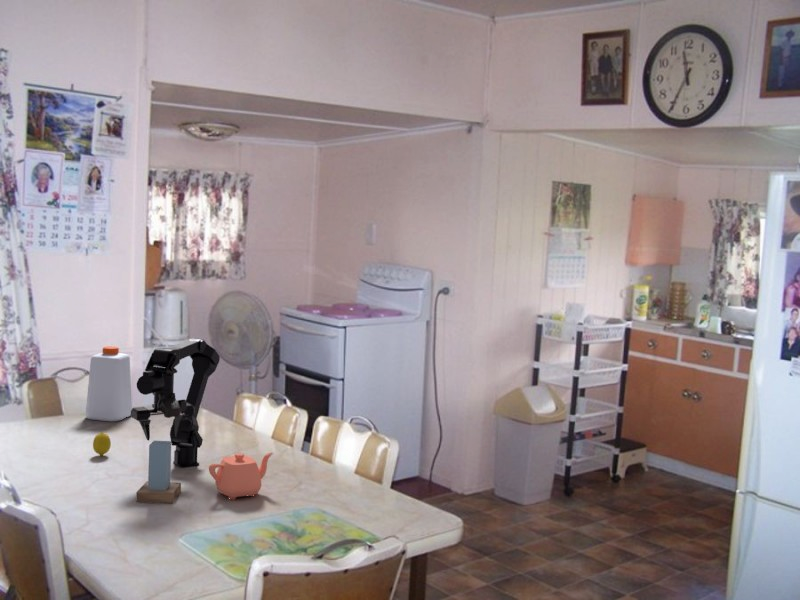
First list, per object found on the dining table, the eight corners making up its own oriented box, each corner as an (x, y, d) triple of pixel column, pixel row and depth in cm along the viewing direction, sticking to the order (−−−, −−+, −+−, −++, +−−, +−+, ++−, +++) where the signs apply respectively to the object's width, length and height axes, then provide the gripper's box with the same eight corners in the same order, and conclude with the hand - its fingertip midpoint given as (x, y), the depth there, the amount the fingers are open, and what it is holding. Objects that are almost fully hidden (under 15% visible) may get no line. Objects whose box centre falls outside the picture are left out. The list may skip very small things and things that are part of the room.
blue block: (152, 484, 240) (154, 440, 239) (170, 485, 240) (171, 441, 239) (147, 489, 235) (149, 445, 234) (165, 490, 235) (166, 445, 234)
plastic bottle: (81, 419, 322) (82, 348, 319) (101, 411, 336) (102, 343, 334) (117, 423, 319) (118, 351, 317) (135, 414, 334) (137, 346, 332)
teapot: (280, 496, 245) (282, 456, 244) (215, 505, 234) (217, 463, 233) (263, 483, 256) (264, 444, 255) (200, 491, 245) (201, 451, 244)
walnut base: (146, 491, 243) (146, 481, 242) (180, 492, 243) (180, 482, 243) (136, 502, 233) (136, 492, 232) (172, 504, 233) (172, 493, 233)
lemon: (104, 458, 272) (105, 435, 271) (89, 457, 273) (89, 433, 272) (113, 454, 277) (114, 431, 277) (98, 452, 279) (99, 429, 278)
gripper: (144, 396, 243) (143, 448, 244) (203, 391, 255) (201, 440, 256) (130, 389, 251) (129, 439, 253) (187, 384, 263) (186, 432, 265)
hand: (162, 438), depth 256 cm, fingers open, 9 cm apart
